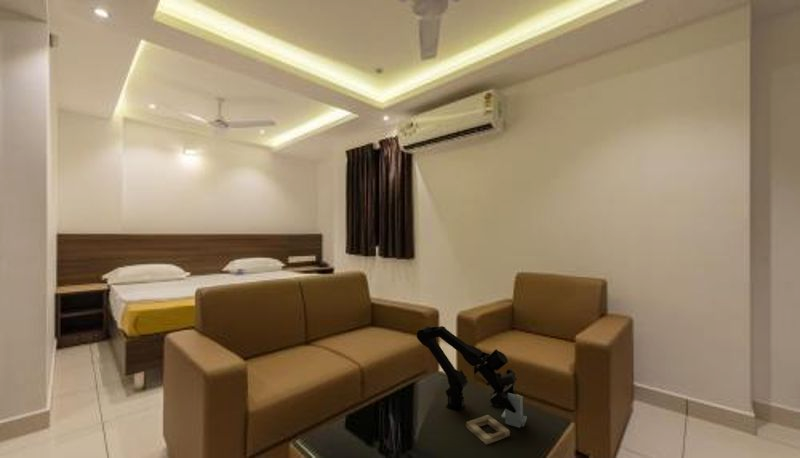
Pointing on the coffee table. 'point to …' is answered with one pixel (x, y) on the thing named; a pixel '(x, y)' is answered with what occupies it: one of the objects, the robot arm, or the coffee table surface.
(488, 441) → the plate
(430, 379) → the coffee table surface
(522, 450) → the coffee table surface
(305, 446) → the coffee table surface
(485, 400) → the coffee table surface
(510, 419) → the servo
